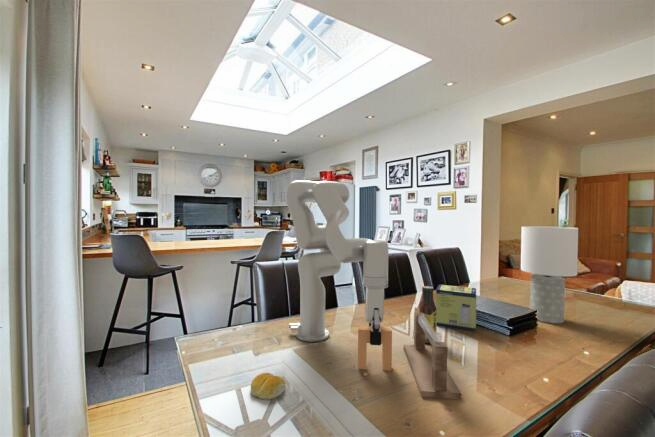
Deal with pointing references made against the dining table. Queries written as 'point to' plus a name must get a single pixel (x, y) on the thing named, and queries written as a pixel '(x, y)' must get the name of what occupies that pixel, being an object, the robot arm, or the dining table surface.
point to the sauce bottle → (428, 308)
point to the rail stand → (430, 362)
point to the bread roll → (267, 386)
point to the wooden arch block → (385, 341)
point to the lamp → (549, 267)
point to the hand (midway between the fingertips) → (374, 339)
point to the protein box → (456, 307)
